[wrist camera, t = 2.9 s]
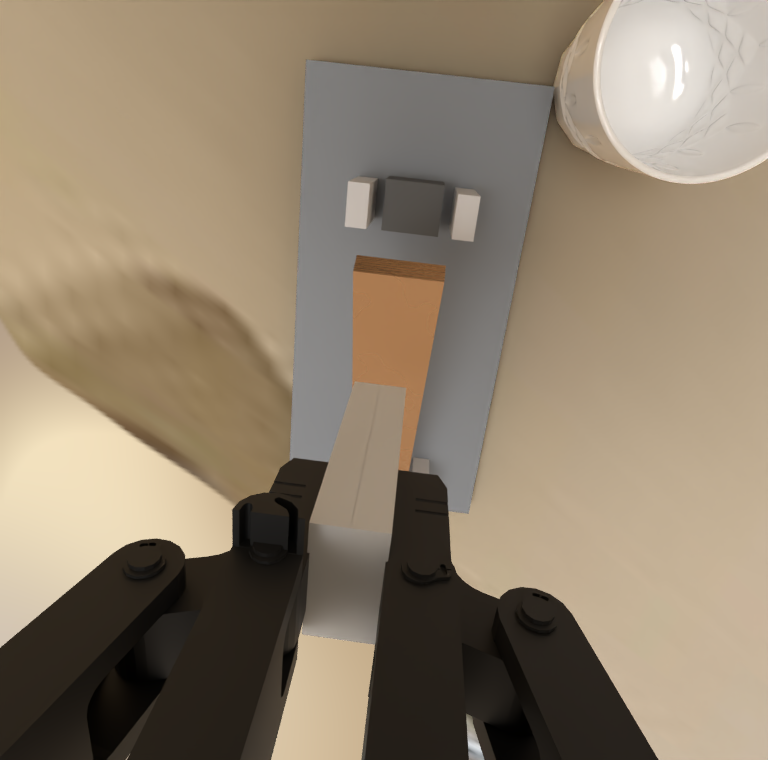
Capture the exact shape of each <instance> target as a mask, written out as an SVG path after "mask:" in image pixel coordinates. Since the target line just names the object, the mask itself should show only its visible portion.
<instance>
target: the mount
mask: <svg viewBox="0 0 768 760" xmlns="http://www.w3.org/2000/svg"><path fill="white" fill-rule="evenodd" d="M554 89H555V87H553V86H544V85H535V84H526V83H517V82H508V81H498V80H489V79H480V78H471V77H462V76H453V75H444V74H434V73H425V72H416V71H407V70H398V69H389V68H379V67H370V66H361V65H352V64H343V63H334V62H325V61H315V60H306V72H305V97H304V122H303V147H302V171H301V196H300V221H299V246H298V270H297V295H296V320H295V345H294V369H293V394H292V419H291V443H290V460H292V459H293V458H300V459H308V460H315V461H323V462H329V460H330V457H331V453H332V450H333V447H334V444H335V441H336V438H337V435H338V432H339V429H340V426H341V423H342V419H343V416H344V413H345V410H346V407H347V404H348V401H349V398H350V395H351V392H352V363H353V269H354V265H355V260H356V256H357V255H361V256H370V257H378V258H386V259H395V260H403V261H411V262H420V263H428V264H436V265H445V266H446V268H445V281H444V287H443V292H442V298H441V303H440V308H439V313H438V319H437V324H436V329H435V335H434V340H433V345H432V351H431V356H430V361H429V367H428V372H427V377H426V383H425V388H424V393H423V399H422V404H421V409H420V415H419V420H418V425H417V431H416V436H415V441H414V446H413V452H412V457H411V462H410V468H409V471H410V472H418V473H425V474H433V475H438V476H439V477H440V479H441V480H442V482H443V483H444V484H445V486H446V487H447V493H448V511H452V512H460V513H467V514H469V509H470V504H471V499H472V494H473V489H474V484H475V479H476V474H477V469H478V464H479V459H480V454H481V449H482V444H483V440H484V435H485V430H486V425H487V420H488V415H489V410H490V405H491V400H492V395H493V390H494V385H495V380H496V375H497V370H498V365H499V361H500V356H501V351H502V346H503V341H504V336H505V331H506V326H507V321H508V316H509V311H510V306H511V301H512V296H513V291H514V286H515V282H516V277H517V272H518V267H519V262H520V257H521V252H522V247H523V242H524V237H525V232H526V227H527V222H528V217H529V212H530V207H531V203H532V198H533V193H534V188H535V183H536V178H537V173H538V168H539V163H540V158H541V153H542V148H543V143H544V138H545V133H546V128H547V124H548V119H549V114H550V109H551V104H552V99H553V94H554Z"/></svg>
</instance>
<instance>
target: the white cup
mask: <svg viewBox="0 0 768 760" xmlns="http://www.w3.org/2000/svg"><path fill="white" fill-rule="evenodd" d="M553 87H555V89H554V94H553V96H554V103H555V111H556V118H557V122H558V124H559V125H560V126H561V128H562V129H563V131H564V132H565V134H566V135H567V137H568V138H569V139H570V141H571V142H572V144H573V145H574V146H575V147H577V148H579V149H581V150H583V151H585V152H588V153H590V154H591V155H593V156H594V157H596V158H598V159H600V160H602V161H604V162H606V163H609V164H612V165H614V166H617V167H620V168H623V169H627V170H630V171H634V172H637V173H641V174H644V175H647V176H651V177H654V178H657V179H660V180H664V181H668V182H673V183H681V184H701V183H709V182H715V181H719V180H723V179H726V178H730V177H733V176H735V175H738V174H740V173H743V172H745V171H747V170H749V169H751V168H753V167H755V166H757V165H759V164H760V163H762V162H764V161H765V160H767V159H768V0H604V1H603V2H602V3H601V4H600V5H599V6H598V7H597V9H596V10H595V11H594V12H593V13H592V15H591V16H590V17H589V18H588V19H587V21H586V22H585V23H584V24H583V26H582V27H581V28H580V30H579V32H578V33H577V35H576V37H575V38H574V39H573V41H572V42H571V43H570V45H569V46H568V47H567V49H566V50H565V51H564V53H563V54H562V56H561V60H560V64H559V67H558V71H557V75H556V78H555V82H554V86H553Z"/></svg>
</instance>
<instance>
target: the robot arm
mask: <svg viewBox="0 0 768 760" xmlns="http://www.w3.org/2000/svg"><path fill="white" fill-rule="evenodd" d="M405 395H406V388H403V387H395V386H387V385H379V384H371V383H363V382H356V381H355V382H354V385H353V389H352V392H351V395H350V398H349V401H348V404H347V407H346V410H345V413H344V416H343V419H342V423H341V426H340V429H339V432H338V435H337V438H336V441H335V444H334V447H333V450H332V453H331V457H330V460H329V462H323V461H315V460H308V459H300V458H293V459H292V460H290V461H289V462H288V463H286V464H285V465H284V466H282V467H281V468H280V470H279V472H278V474H277V477H276V479H275V481H274V483H273V485H272V487H271V489H270V491H269V493H261V494H256V495H251V496H249V497H247V498H245V499H243V500H241V501H240V502H239V503H238V504H237V505H236V506H235V507H234V508H233V510H232V512H233V513H232V514H233V546H232V548H231V550H230V551H228V552H225V553H222V554H219V555H214V556H209V557H199V558H189V559H185V554H184V553H183V551H182V549H181V548H180V546H178V545H176V544H174V543H173V542H171V541H167V540H161V539H148V540H140V541H137V542H134V543H131V544H128V545H125V546H124V547H122V548H121V549H119V550H117V551H116V552H114V553H113V554H112V555H110V556H109V557H108V558H107V559H106V560H104V561H103V562H102V563H101V564H100V565H99V566H97V567H96V568H95V569H94V570H93V571H91V572H90V573H89V574H88V575H87V576H85V577H84V578H83V579H82V580H81V581H79V582H78V583H77V584H76V585H75V586H73V587H72V588H71V589H70V590H69V591H67V592H66V593H65V594H64V595H63V596H62V597H60V598H59V599H58V600H57V601H56V602H54V603H53V604H52V605H51V606H50V607H48V608H47V609H46V610H45V611H44V612H42V613H41V614H40V615H39V616H38V617H36V618H35V619H34V620H33V621H32V622H30V623H29V624H28V625H27V626H26V627H25V628H23V629H22V630H21V631H20V632H19V633H17V634H16V635H15V636H14V637H13V638H11V639H10V640H9V641H8V642H7V643H6V644H4V645H3V646H2V647H1V648H0V760H126V758H127V757H128V756H129V757H128V759H127V760H271V757H272V753H273V749H274V746H275V742H276V738H277V734H278V730H279V726H280V722H281V718H282V714H283V711H284V707H285V703H286V699H287V695H288V691H289V687H290V683H291V679H292V676H293V672H294V668H295V664H296V660H297V649H298V637H299V634H300V630H301V626H302V623H303V627H302V634H304V635H311V636H318V637H326V638H333V639H339V640H347V641H353V642H360V643H368V644H375V650H374V657H373V658H374V659H373V665H372V672H371V680H370V687H369V695H368V697H369V699H368V708H367V718H366V725H365V735H364V743H363V752H362V760H469V756H468V740H467V724H466V713H467V714H469V715H471V716H472V717H473V724H474V728H475V731H476V734H477V737H478V740H479V743H480V747H481V750H482V753H483V756H484V759H485V760H658V758H657V757H656V755H655V753H654V752H653V750H652V748H651V747H650V745H649V743H648V742H647V740H646V738H645V736H644V735H643V733H642V731H641V730H640V728H639V726H638V725H637V723H636V721H635V720H634V718H633V716H632V715H631V713H630V711H629V709H628V708H627V706H626V704H625V703H624V701H623V699H622V698H621V696H620V694H619V693H618V691H617V689H616V688H615V686H614V684H613V683H612V681H611V679H610V677H609V676H608V674H607V672H606V671H605V669H604V667H603V666H602V664H601V662H600V661H599V659H598V657H597V656H596V654H595V652H594V651H593V649H592V647H591V645H590V644H589V642H588V640H587V639H586V637H585V635H584V634H583V632H582V630H581V629H580V627H579V625H578V624H577V622H576V620H575V618H574V617H573V615H572V614H571V612H570V611H569V610H568V609H567V608H566V606H565V605H564V604H563V603H562V602H560V601H559V600H558V599H556V598H555V597H553V596H552V595H550V594H548V593H545V592H543V591H540V590H538V589H533V588H524V587H520V588H515V589H511V590H508V591H507V592H506V593H504V594H503V595H502V596H501V597H500V599H497V598H495V597H492V596H490V595H487V594H485V593H482V592H480V591H478V590H476V589H474V588H472V587H471V586H469V585H468V584H467V583H465V582H464V581H463V580H462V579H461V578H460V577H459V576H458V575H457V573H456V570H455V567H454V566H453V564H452V562H451V551H450V532H449V517H448V514H449V512H448V493H447V487H446V486H445V484H444V483H443V482H442V480H441V479H440V477H439V476H438V475H433V474H425V473H418V472H410V471H403V470H398V466H399V456H400V446H401V436H402V426H403V416H404V406H405ZM129 754H130V755H129Z"/></svg>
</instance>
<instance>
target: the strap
mask: <svg viewBox="0 0 768 760" xmlns="http://www.w3.org/2000/svg"><path fill="white" fill-rule="evenodd" d="M445 268H446V266H445V265H436V264H428V263H420V262H411V261H403V260H395V259H386V258H378V257H370V256H361V255H357V256H356V260H355V265H354V269H353V363H352V389H353V385H354V382H355V381H356V382H363V383H371V384H379V385H387V386H395V387H403V388H406V395H405V406H404V416H403V426H402V436H401V446H400V456H399V466H398V470H403V471H409V468H410V462H411V457H412V452H413V446H414V441H415V436H416V431H417V425H418V420H419V415H420V409H421V404H422V399H423V393H424V388H425V383H426V377H427V372H428V367H429V361H430V356H431V351H432V345H433V340H434V335H435V329H436V324H437V319H438V313H439V308H440V303H441V298H442V292H443V287H444V281H445Z"/></svg>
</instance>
